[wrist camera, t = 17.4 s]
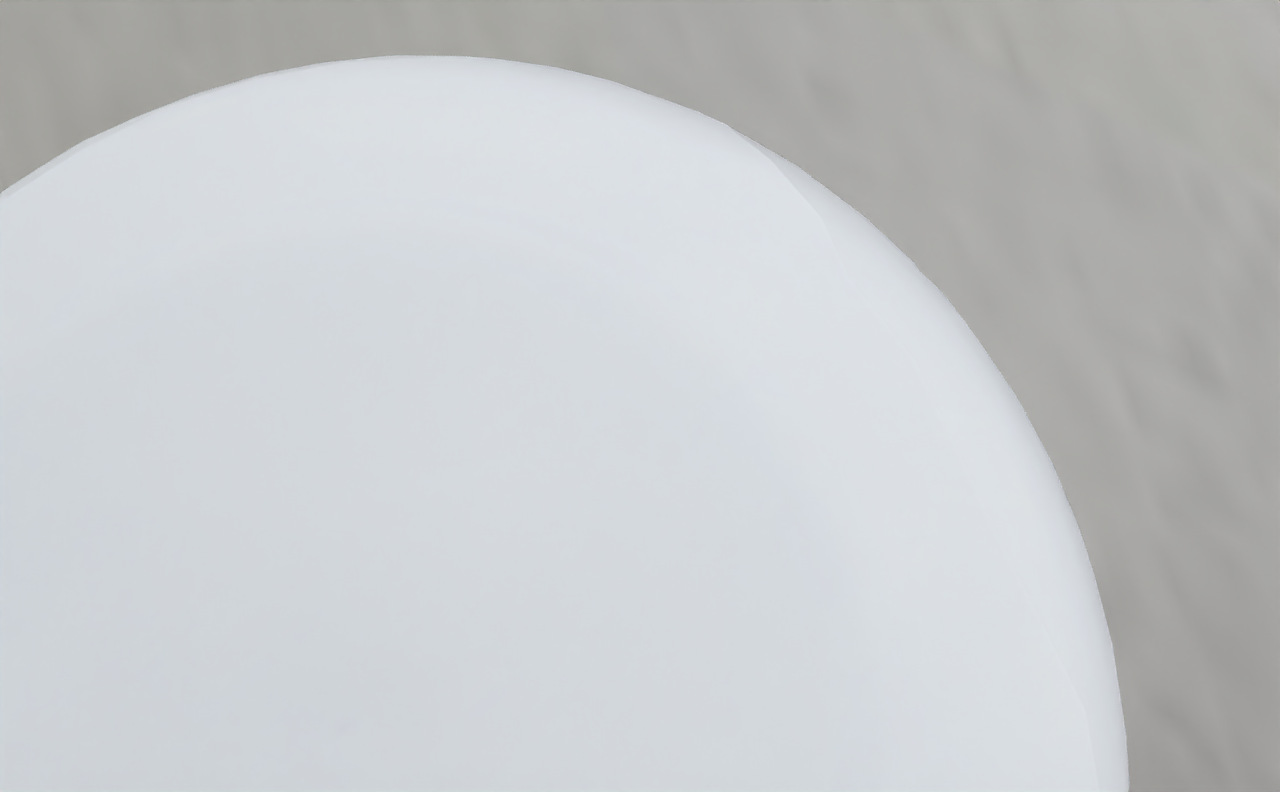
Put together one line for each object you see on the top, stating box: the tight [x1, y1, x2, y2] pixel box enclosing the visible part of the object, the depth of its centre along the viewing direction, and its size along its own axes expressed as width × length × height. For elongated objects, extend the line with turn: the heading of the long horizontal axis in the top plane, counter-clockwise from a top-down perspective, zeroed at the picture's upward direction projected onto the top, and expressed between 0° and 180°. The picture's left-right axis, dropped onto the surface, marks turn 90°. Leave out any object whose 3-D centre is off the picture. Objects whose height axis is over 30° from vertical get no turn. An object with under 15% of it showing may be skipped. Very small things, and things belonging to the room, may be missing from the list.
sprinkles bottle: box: [0, 55, 1129, 792], centre depth 9 cm, size 5×5×13 cm
